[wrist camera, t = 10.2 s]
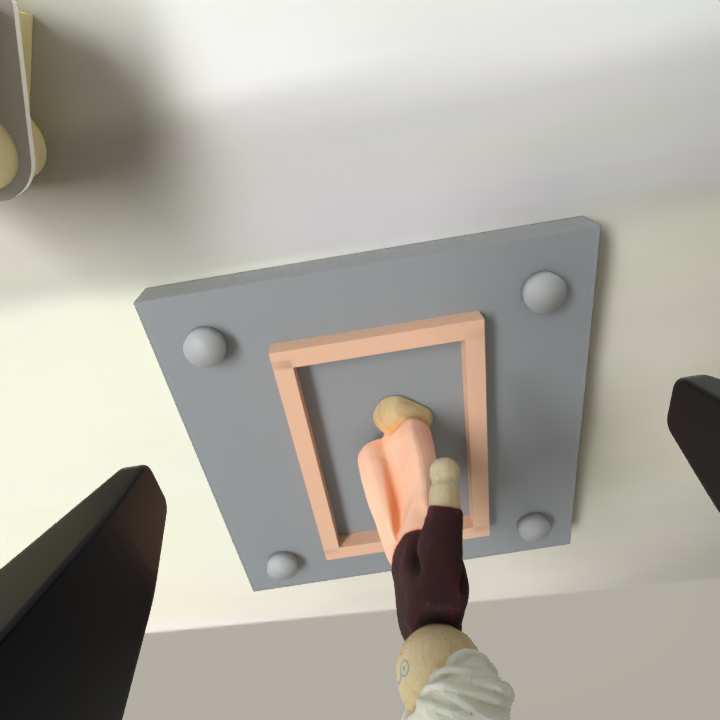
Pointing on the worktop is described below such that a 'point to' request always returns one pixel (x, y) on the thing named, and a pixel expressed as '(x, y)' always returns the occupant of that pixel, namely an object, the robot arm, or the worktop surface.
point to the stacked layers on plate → (17, 104)
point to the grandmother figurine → (427, 569)
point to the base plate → (384, 389)
